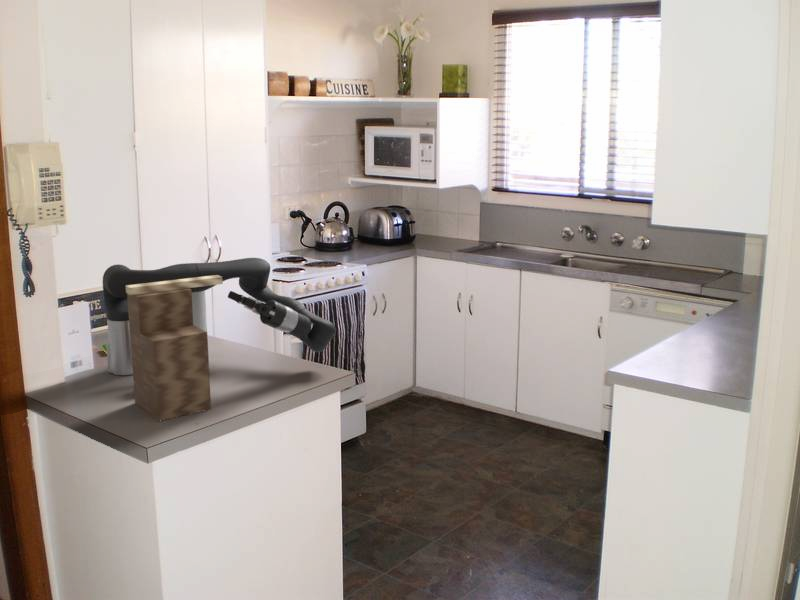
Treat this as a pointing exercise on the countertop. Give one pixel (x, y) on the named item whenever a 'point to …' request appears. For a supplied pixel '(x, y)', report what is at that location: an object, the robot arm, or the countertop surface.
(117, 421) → the countertop surface
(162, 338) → the walnut step stand
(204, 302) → the cylinder vase
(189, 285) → the maple slat
